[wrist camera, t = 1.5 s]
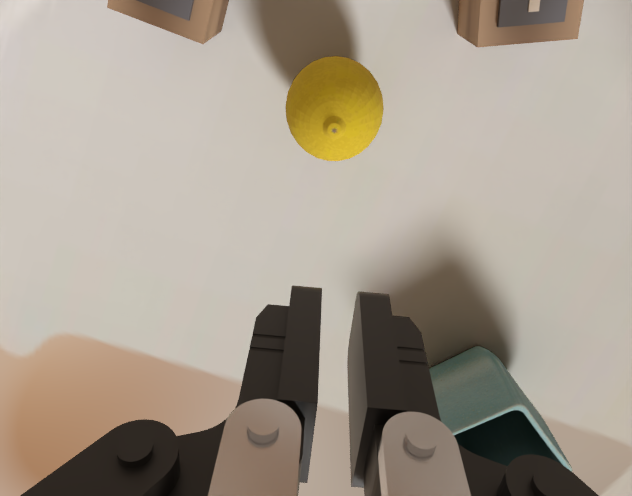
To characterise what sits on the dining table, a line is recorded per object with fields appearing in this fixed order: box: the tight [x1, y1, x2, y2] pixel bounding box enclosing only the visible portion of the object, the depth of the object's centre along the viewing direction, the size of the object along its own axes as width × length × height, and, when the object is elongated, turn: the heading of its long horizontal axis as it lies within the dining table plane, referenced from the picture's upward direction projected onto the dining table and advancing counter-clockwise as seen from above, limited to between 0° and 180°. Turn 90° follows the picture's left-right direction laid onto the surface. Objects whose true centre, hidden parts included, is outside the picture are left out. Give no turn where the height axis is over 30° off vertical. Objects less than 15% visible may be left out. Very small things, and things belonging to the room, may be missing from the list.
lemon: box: [286, 56, 383, 161], centre depth 29 cm, size 6×6×8 cm
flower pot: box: [429, 346, 572, 472], centre depth 40 cm, size 9×9×9 cm
